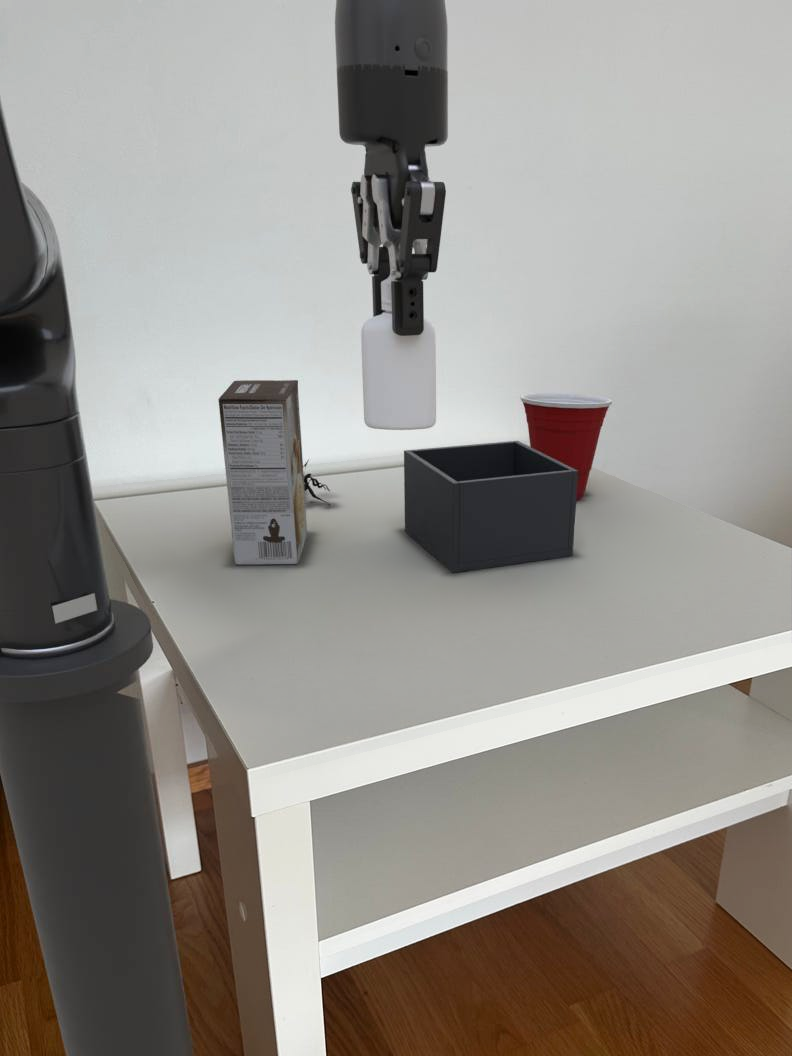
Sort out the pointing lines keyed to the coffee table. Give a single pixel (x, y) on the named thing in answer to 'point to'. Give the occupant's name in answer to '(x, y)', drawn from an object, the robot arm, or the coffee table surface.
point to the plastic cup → (566, 429)
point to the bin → (489, 504)
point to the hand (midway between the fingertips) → (398, 329)
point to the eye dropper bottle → (397, 372)
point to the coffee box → (264, 471)
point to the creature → (306, 485)
